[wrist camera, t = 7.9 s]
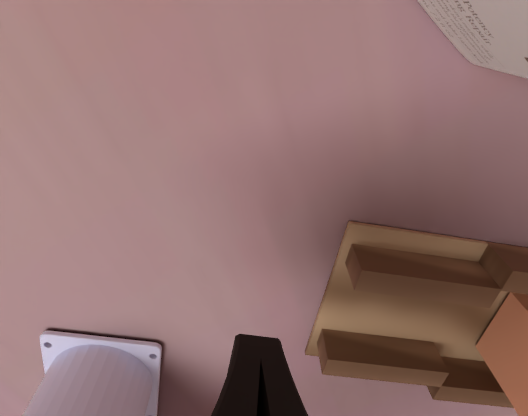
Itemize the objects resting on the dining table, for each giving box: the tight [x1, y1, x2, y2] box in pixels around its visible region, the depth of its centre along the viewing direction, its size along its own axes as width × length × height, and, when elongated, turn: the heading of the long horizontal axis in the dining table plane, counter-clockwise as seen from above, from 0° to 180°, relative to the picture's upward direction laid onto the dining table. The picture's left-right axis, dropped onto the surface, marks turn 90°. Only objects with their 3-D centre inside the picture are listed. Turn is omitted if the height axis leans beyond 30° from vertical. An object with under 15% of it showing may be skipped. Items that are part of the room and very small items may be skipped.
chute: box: [305, 221, 528, 408], centre depth 24 cm, size 11×19×3 cm, turn 80°
